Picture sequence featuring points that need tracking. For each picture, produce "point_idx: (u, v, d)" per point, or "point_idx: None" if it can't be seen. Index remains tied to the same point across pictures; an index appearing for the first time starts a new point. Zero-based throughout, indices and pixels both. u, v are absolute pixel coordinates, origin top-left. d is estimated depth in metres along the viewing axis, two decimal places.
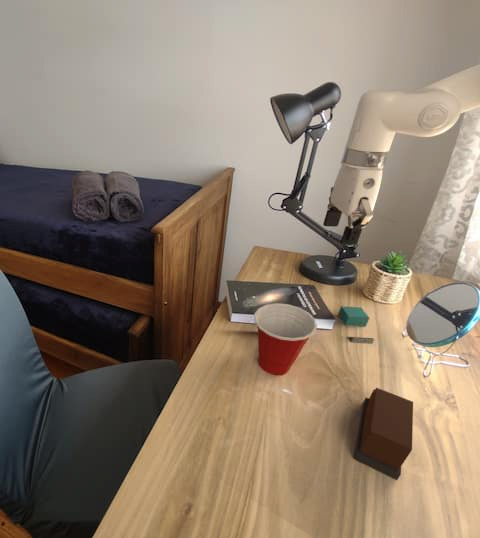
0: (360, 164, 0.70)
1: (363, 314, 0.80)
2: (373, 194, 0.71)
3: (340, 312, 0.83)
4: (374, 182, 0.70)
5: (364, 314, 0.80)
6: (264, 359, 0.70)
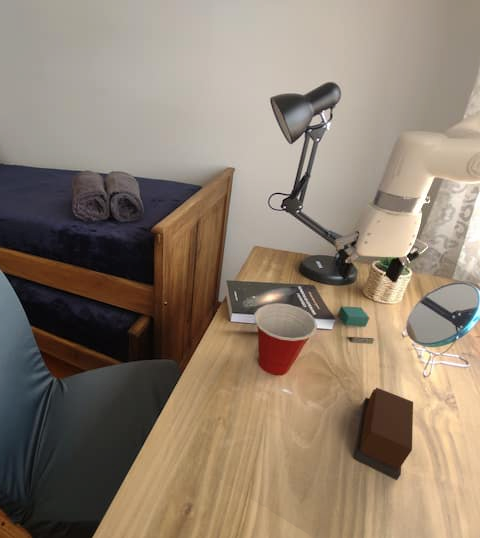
0: (420, 207, 0.66)
1: (363, 314, 0.80)
2: None
3: (340, 312, 0.83)
4: None
5: (364, 314, 0.80)
6: (264, 359, 0.70)
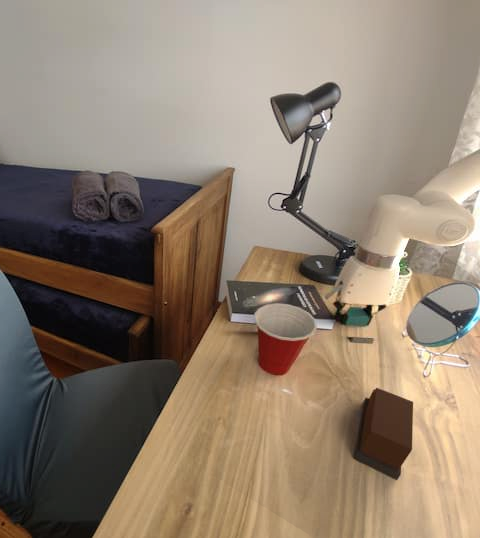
0: None
1: (363, 314, 0.80)
2: None
3: None
4: None
5: (364, 314, 0.80)
6: (264, 359, 0.70)
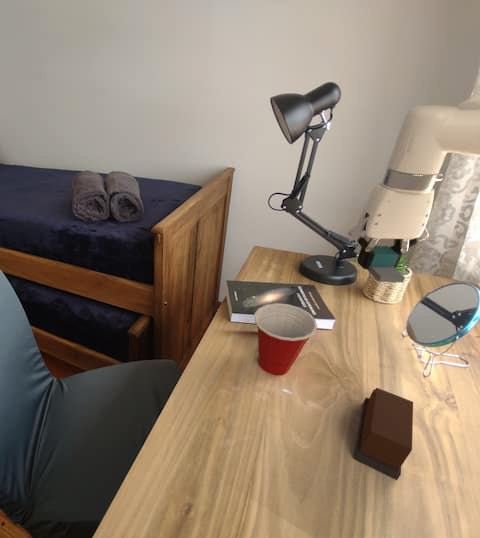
0: (432, 185, 0.64)
1: (391, 252, 0.72)
2: None
3: None
4: None
5: (392, 252, 0.72)
6: (264, 359, 0.70)
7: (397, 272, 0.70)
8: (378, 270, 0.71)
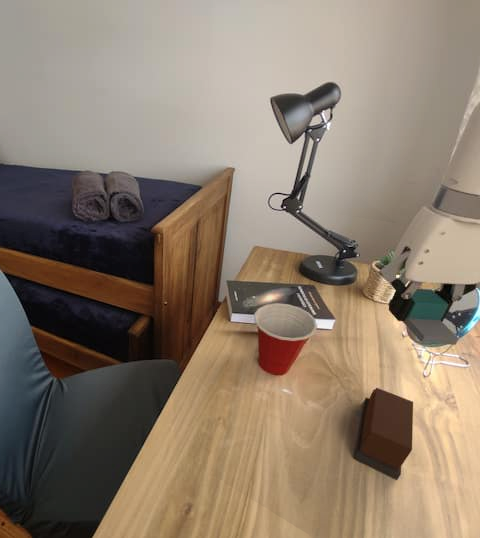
0: None
1: (438, 299, 0.52)
2: None
3: None
4: None
5: (439, 299, 0.52)
6: (264, 359, 0.70)
7: (447, 329, 0.50)
8: (419, 325, 0.51)
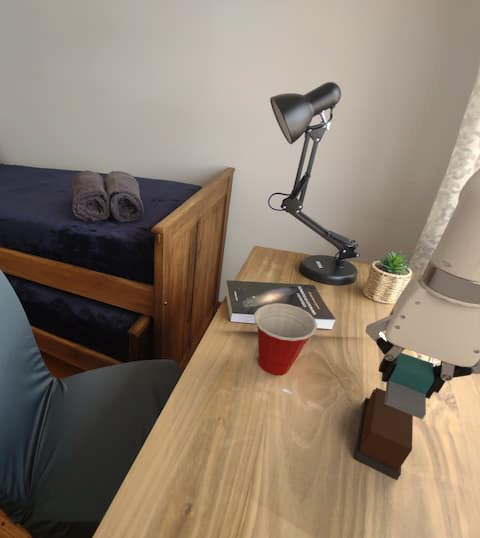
0: None
1: (427, 373, 0.50)
2: None
3: None
4: None
5: (429, 373, 0.50)
6: (264, 359, 0.70)
7: (421, 403, 0.49)
8: (394, 389, 0.51)
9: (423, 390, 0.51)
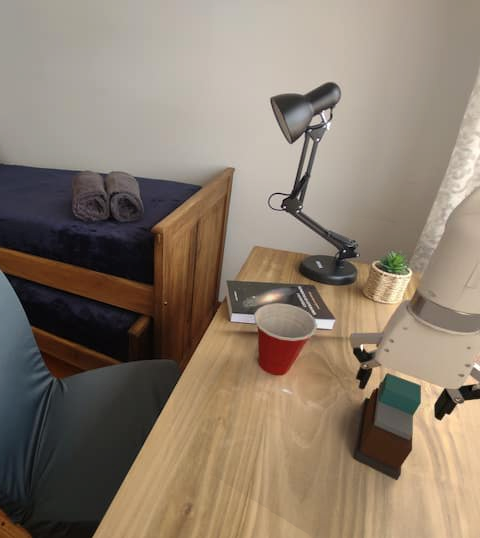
0: (479, 328, 0.44)
1: (414, 395, 0.53)
2: None
3: (383, 381, 0.57)
4: None
5: (416, 395, 0.53)
6: (264, 359, 0.70)
7: (409, 424, 0.52)
8: (383, 410, 0.54)
9: (411, 411, 0.53)
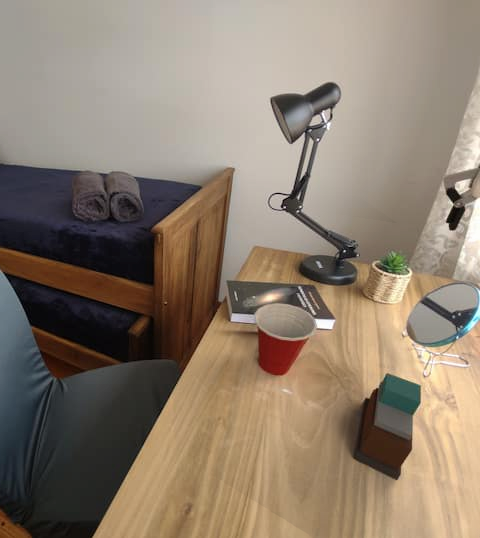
0: None
1: (414, 395, 0.53)
2: None
3: (383, 381, 0.57)
4: None
5: (416, 395, 0.53)
6: (264, 359, 0.70)
7: (409, 424, 0.52)
8: (383, 410, 0.54)
9: (410, 411, 0.53)
